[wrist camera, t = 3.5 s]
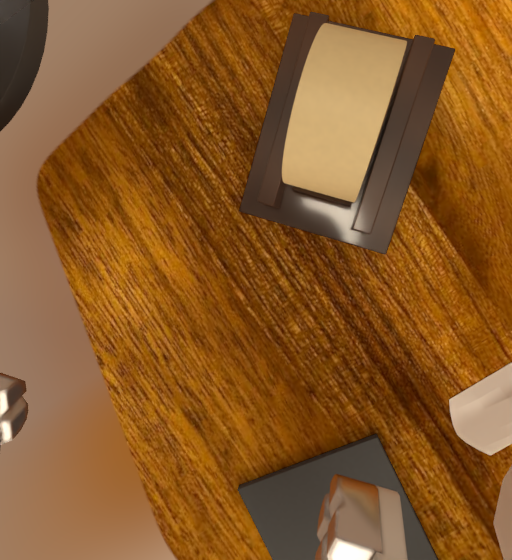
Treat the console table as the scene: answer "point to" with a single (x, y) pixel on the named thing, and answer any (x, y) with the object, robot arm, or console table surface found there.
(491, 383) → the heart sculpture
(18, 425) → the robot arm
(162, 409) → the console table surface
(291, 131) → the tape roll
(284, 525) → the mat
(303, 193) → the tape holder
